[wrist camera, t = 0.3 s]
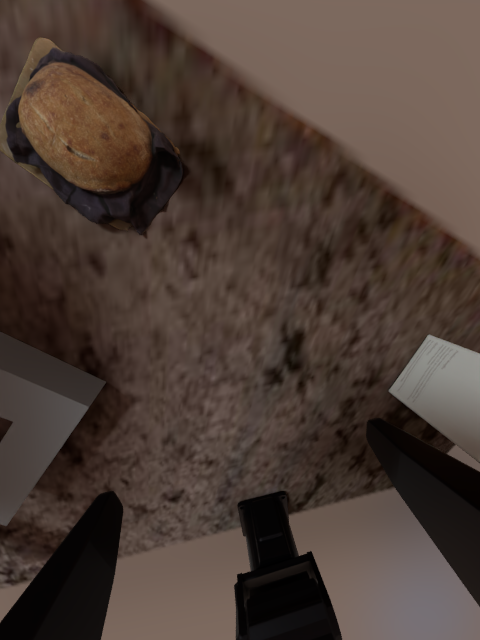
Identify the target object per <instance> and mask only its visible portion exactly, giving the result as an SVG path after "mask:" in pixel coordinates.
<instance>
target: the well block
mask: <svg viewBox="0 0 480 640" xmlns="http://www.w3.org/2000/svg"><path fill="white" fill-rule="evenodd" d="M105 383H106V382H105V381H103V380H101V379H99V378H97V377H95V376H93V375H91V374H89V373H86V372H84V371H82V370H80V369H78V368H76V367H74V366H72V365H70V364H67V363H65V362H63V361H61V360H59V359H57V358H55V357H53V356H51V355H49V354H46V353H44V352H42V351H40V350H38V349H36V348H34V347H32V346H30V345H27V344H25V343H23V342H21V341H19V340H17V339H15V338H13V337H11V336H8V335H6V334H4V333H2V332H0V417H1V418H4V419H7V420H10V421H12V422H13V423H12V425H11V426H10V428H9V430H8V431H7V433H6V434H5V436H4V438H3V439H2V441H1V442H0V524H1V525H5V526H7V525H8V523H9V522H10V520H11V519H12V518H13V516H14V515H15V513H16V512H17V510H18V509H19V508H20V506H21V505H22V503H23V502H24V500H25V499H26V497H27V496H28V495H29V493H30V492H31V490H32V489H33V487H34V486H35V485H36V483H37V482H38V480H39V479H40V477H41V476H42V474H43V473H44V472H45V470H46V469H47V467H48V466H49V464H50V463H51V462H52V460H53V459H54V457H55V456H56V454H57V453H58V451H59V450H60V449H61V447H62V446H63V444H64V443H65V441H66V440H67V438H68V437H69V436H70V434H71V433H72V431H73V430H74V428H75V427H76V426H77V424H78V423H79V421H80V420H81V418H82V417H83V415H84V414H85V413H86V411H87V410H88V408H89V407H90V405H91V404H92V402H93V401H94V399H95V398H96V397H97V395H98V394H99V392H100V391H101V389H102V388H103V386H104V385H105Z"/></svg>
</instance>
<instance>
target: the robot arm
mask: <svg viewBox="0 0 480 640" xmlns="http://www.w3.org/2000/svg"><path fill="white" fill-rule="evenodd" d="M366 437H367V441H368V443H369V445H370V446H371V448H372V450H373V452H374V453H375V455H376V457H377V458H378V460H379V462H380V463H381V465H382V467H383V468H384V470H385V472H386V474H387V475H388V477H389V479H390V480H391V482H392V484H393V485H394V487H395V488H396V490H397V491H398V492H399V494H400V496H401V497H402V499H403V500H404V501H405V503H406V504H407V506H408V507H409V508H410V510H411V511H412V512H413V514H414V515H415V517H416V518H417V519H418V521H419V522H420V524H421V525H422V526H423V528H424V529H425V531H426V532H427V534H428V535H429V536H430V538H431V539H432V540H433V542H434V543H435V545H436V546H437V548H438V549H439V550H440V552H441V553H442V555H443V556H444V557H445V559H446V560H447V562H448V563H449V564H450V566H451V567H452V568H453V570H454V571H455V573H456V574H457V576H458V577H459V578H460V580H461V581H462V583H463V584H464V585H465V587H466V588H467V590H468V591H469V592H470V594H471V595H472V596H473V598H474V599H475V601H476V602H477V604H478V605H479V606H480V472H479V471H477V470H475V469H473V468H472V467H470V466H468V465H466V464H464V463H462V462H461V461H459V460H457V459H455V458H453V457H451V456H449V455H448V454H446V453H444V452H442V451H440V450H438V449H436V448H435V447H433V446H431V445H429V444H427V443H425V442H423V441H422V440H420V439H418V438H416V437H414V436H412V435H411V434H409V433H407V432H405V431H403V430H401V429H399V428H398V427H396V426H394V425H392V424H390V423H388V422H386V421H385V420H383V419H381V418H374V419H371V420H368V421H367V432H366ZM238 511H239V516H240V521H241V527H242V532H243V536H246V541H247V548H248V555H249V562H250V569H251V572H247V573H244V574H242V573H240V574H237V580H238V582H237V583H236V584H235V585H234V589H235V600H236V640H342V636H341V632H340V629H339V625H338V622H337V619H336V616H335V612H334V610H333V606H332V604H331V600H330V598H329V595H328V593H327V590H326V588H325V585H324V582H323V580H322V577H321V575H320V572H319V570H318V567H317V564H316V562H315V559H314V557H313V554H312V552H311V551H310V552H307V554H304V555H301V556H299V555H298V551H297V548H296V545H295V542H294V538H293V535H292V531H291V528H290V525H289V517H288V504H287V495H286V493H285V492H280V493H276V494H272V495H267V496H263V497H259V498H255V499H251V500H247V501H243V502H240V503H238ZM122 517H123V506H122V503H121V502H120V500H119V498H118V497H117V495H116V494H115V492H114V491H108V492H104V493H101V494H99V495H98V496H97V497H96V499H95V500H94V501H93V503H92V504H91V505H90V506H89V508H88V509H87V510H86V512H85V513H84V514H83V516H82V517H81V518H80V519H79V521H78V522H77V523H76V525H75V526H74V527H73V529H72V530H71V531H70V533H69V534H68V535H67V536H66V538H65V539H64V540H63V542H62V543H61V544H60V546H59V547H58V548H57V549H56V551H55V552H54V553H53V555H52V556H51V557H50V559H49V560H48V561H47V562H46V564H45V565H44V566H43V568H42V569H41V570H40V572H39V573H38V574H37V575H36V577H35V578H34V579H33V581H32V582H31V583H30V585H29V586H28V587H27V588H26V590H25V591H24V592H23V594H22V595H21V596H20V598H19V599H18V600H17V602H16V603H15V604H14V605H13V607H12V608H11V609H10V611H9V612H8V613H7V615H6V616H5V617H4V618H3V620H2V621H1V623H0V640H101V636H102V631H103V626H104V622H105V617H106V612H107V608H108V604H109V599H110V594H111V590H112V585H113V579H114V575H115V569H116V563H117V555H118V547H119V540H120V532H121V525H122Z"/></svg>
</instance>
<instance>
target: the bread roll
mask: <svg viewBox="0 0 480 640" xmlns="http://www.w3.org/2000/svg"><path fill="white" fill-rule="evenodd" d="M0 151H2V152H3V153H4V154H5V155H6V156H8V157H9V158H10V159H12V160H13V161H14V162H15V163H17V164H18V165H20V166H21V167H22V168H24V169H25V170H27V171H28V172H30V173H31V174H33V175H34V176H35V177H36V178H38V179H40V180H41V181H42V182H44V183H45V184H46V185H48V186H49V187H50V188H52V189H53V190H54V191H55V192H56V193H57V194H58V196H59V197H60V198H61V199H62V200H63V201H64V202H65V204H69V205H71V206H73V207H74V208H75V209H77V210H78V212H79V213H80V214H82V215H83V216H85V217H86V218H87V219H88V220H90V221H92V222H95V223H96V224H97V223H98V224H101V223H108V224H110V225H112V226H113V227H116V228H118V229H119V230H123V229H125V230H126V231H127V229H128V228H129V227H130V226H131V225H133V226H134V227H135V229H136V230H137V232H138V233H139V234H140V235H142V234H143V233H144V232H145V231H146V230H147V229H148V227H149V226H150V224H151V222H152V220H153V219H154V217H155V216H156V215H157V214H158V213H159V212H160V210H161V209H162V208H163V206H164V205H165V204H166V202H167V201H168V200H169V199H170V197H171V196H172V195H173V194H174V192H175V190H176V189H177V188H178V185H179V183H180V181H181V179H182V176H183V169H182V162H181V161H180V158H179V157H178V154H180V152H179V150H178V148H177V147H176V148H175V146H174V145H173V143H172V141H171V140H170V139H169V138H168V137H166V135H164V134H163V133H162V132H161V131H160V129H158V128H157V127H156V126H155V125H154V124H153V123H152V122H151V121H150V119H149V118H148V117H147V116H145V115H144V114H143V113H141V112H140V111H139V110H137V108H135V107H134V106H133V105H132V104H131V103H130V102H129V100H128V99H127V97H126V96H125V95H123V94H122V93H121V92H120V90H119V89H118V87H117V86H116V84H115V82H114V81H113V80H112V79H110V78H109V77H107V75H106V74H105V73H104V72H103V70H102V69H101V68H100V66H99V65H98V64H96V63H94V62H92V61H90V60H89V59H87V58H84V57H83V56H79V55H74V54H72V53H69V52H64V51H62V50H61V49H59V48H58V47H57V46H56V44H54V43H53V42H52V41H50V40H49V39H45V38H40V37H39V38H38V39H37V40H36V41H35V42H34V44H33V47H32V49H31V52H30V53H29V57H28V60H27V62H26V64H25V66H24V68H23V71H22V73H21V75H20V77H19V80H18V83H17V85H16V87H15V90H14V93H13V95H12V97H11V100H10V103H9V105H8V107H7V109H6V112H5V114H4V116H3V119H2V122H1V124H0ZM127 226H128V227H127Z"/></svg>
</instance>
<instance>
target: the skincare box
mask: <svg viewBox="0 0 480 640" xmlns="http://www.w3.org/2000/svg"><path fill="white" fill-rule="evenodd" d="M389 392H390V393H391V394H392V395H393V396H395V397H396V398H397V399H398V400H400V401H401V402H402V403H404V404H405V405H406V406H407V407H409V408H410V409H411V410H413V411H414V412H415V413H416V414H418V415H419V416H420V417H422V418H423V419H424V420H425V421H427V422H428V423H429V424H430V425H432V426H433V427H434V428H436V429H437V430H438V431H439V432H441V433H442V434H443V435H444V436H446V437H447V438H448V439H450V440H451V441H452V442H453V443H455V444H456V445H457V446H459V447H460V448H461V449H462V450H463V451H465V452H466V453H467V454H469V455H470V456H471V457H472V458H474V459H475V460H476V461H477V462H479V463H480V354H479V353H476V352H474V351H471V350H468V349H466V348H463V347H461V346H458V345H455V344H453V343H450V342H447V341H445V340H442V339H439V338H437V337H434V336H431V335H428V336H427V337H426V339H425V340H424V342H423V343H422V345H421V346H420V347H419V349H418V350H417V352H416V353H415V354H414V356H413V357H412V359H411V360H410V362H409V363H408V364H407V366H406V367H405V369H404V370H403V371H402V373H401V374H400V376H399V377H398V378H397V380H396V381H395V383H394V384H393V385H392V387H391V388H390V390H389Z"/></svg>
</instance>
